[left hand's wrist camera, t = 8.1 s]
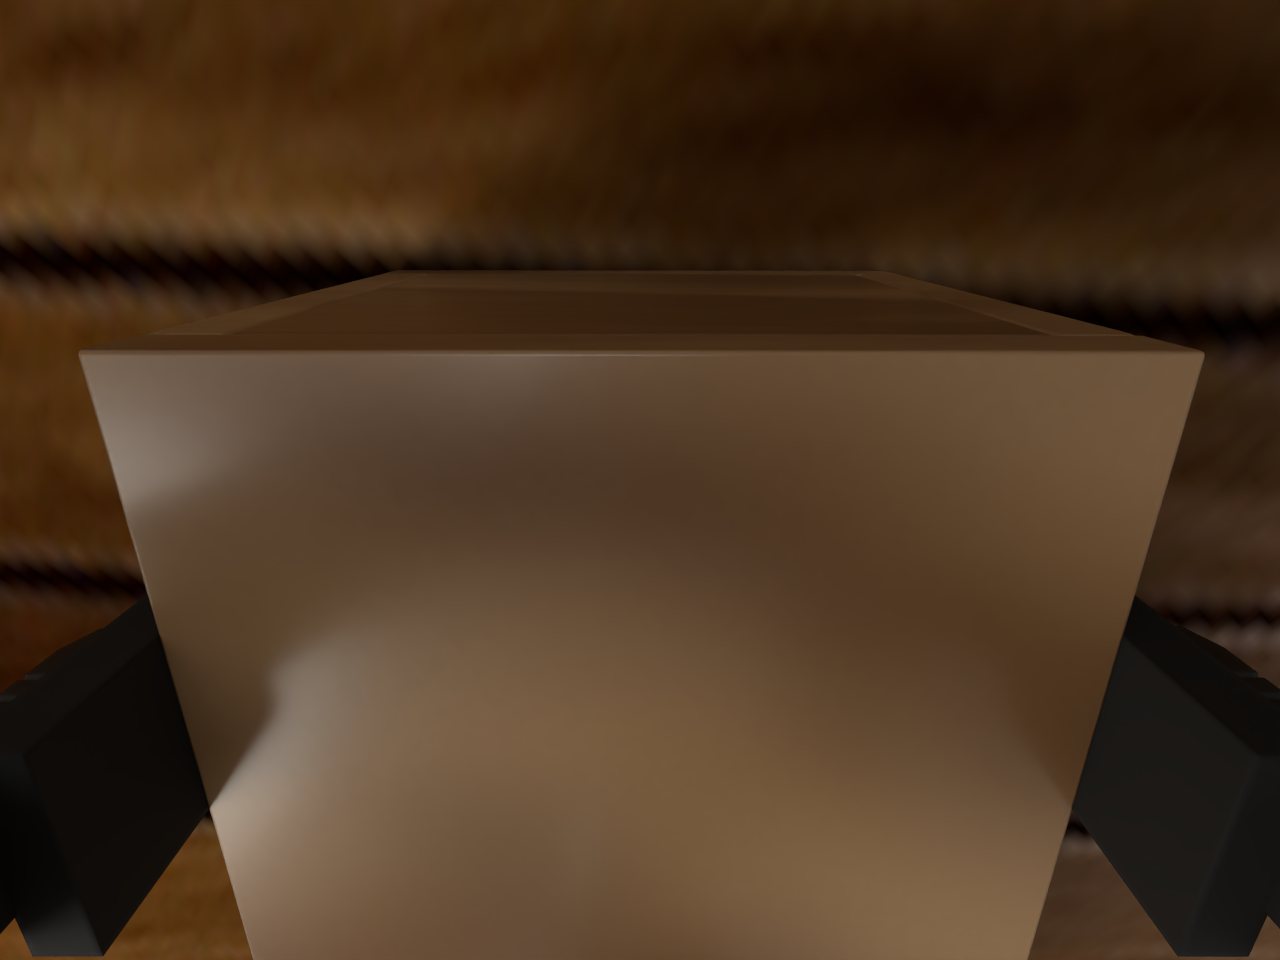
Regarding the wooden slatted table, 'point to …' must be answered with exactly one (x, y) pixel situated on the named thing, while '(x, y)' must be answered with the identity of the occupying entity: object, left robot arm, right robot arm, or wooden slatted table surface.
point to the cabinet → (641, 604)
